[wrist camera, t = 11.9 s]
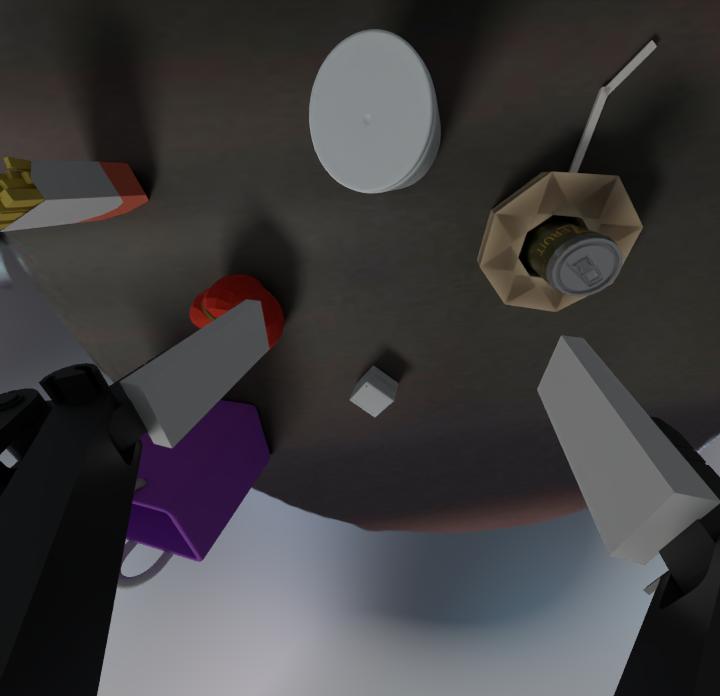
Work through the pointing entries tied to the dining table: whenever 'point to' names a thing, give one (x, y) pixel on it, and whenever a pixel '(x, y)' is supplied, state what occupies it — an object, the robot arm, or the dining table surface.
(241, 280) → the tomato
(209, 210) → the dining table surface
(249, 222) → the dining table surface
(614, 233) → the tan octagonal bowl
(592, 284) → the beer can
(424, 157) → the supplement tub
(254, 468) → the shopping bag
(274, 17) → the dining table surface
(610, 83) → the drinking straw
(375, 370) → the small box
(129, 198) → the french fries container
